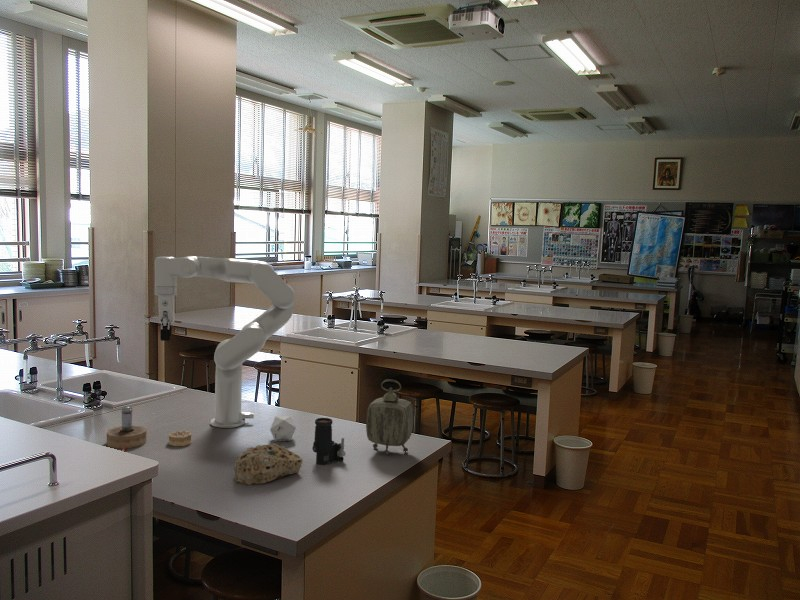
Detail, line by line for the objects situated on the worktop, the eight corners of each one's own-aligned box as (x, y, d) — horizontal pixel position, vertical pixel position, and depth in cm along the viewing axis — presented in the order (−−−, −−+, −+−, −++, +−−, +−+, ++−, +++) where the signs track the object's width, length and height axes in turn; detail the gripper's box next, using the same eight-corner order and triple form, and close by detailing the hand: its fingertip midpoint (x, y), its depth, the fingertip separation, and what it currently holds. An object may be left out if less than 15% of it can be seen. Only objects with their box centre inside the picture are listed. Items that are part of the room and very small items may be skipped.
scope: (347, 419, 205) (323, 425, 197) (345, 461, 206) (322, 469, 199) (329, 413, 210) (305, 419, 202) (328, 455, 211) (304, 462, 204)
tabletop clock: (412, 451, 218) (415, 379, 216) (405, 460, 210) (408, 384, 207) (371, 446, 222) (374, 374, 220) (363, 454, 214) (365, 380, 211)
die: (264, 440, 225) (265, 423, 219) (278, 422, 232) (280, 405, 225) (285, 451, 224) (287, 434, 217) (299, 433, 230) (301, 416, 224)
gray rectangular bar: (132, 440, 217) (132, 405, 216) (131, 443, 214) (131, 408, 213) (122, 440, 217) (122, 406, 215) (120, 444, 213) (120, 408, 212)
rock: (273, 463, 205) (282, 434, 203) (303, 485, 197) (312, 455, 195) (220, 473, 189) (229, 442, 187) (250, 498, 180) (260, 466, 179)
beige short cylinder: (191, 438, 222) (191, 430, 221) (190, 445, 215) (190, 436, 215) (169, 439, 220) (169, 431, 219) (168, 446, 213) (168, 437, 213)
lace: (125, 448, 210) (125, 446, 210) (121, 457, 201) (121, 455, 201) (123, 448, 210) (123, 446, 209) (119, 457, 201) (119, 455, 201)
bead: (147, 435, 223) (147, 424, 222) (144, 447, 211) (144, 435, 211) (110, 437, 219) (110, 426, 219) (104, 449, 208) (104, 437, 208)
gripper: (176, 293, 224) (176, 342, 226) (177, 288, 241) (177, 334, 242) (153, 293, 222) (153, 342, 224) (156, 288, 238) (156, 334, 240)
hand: (166, 338), depth 233 cm, fingers open, 9 cm apart
